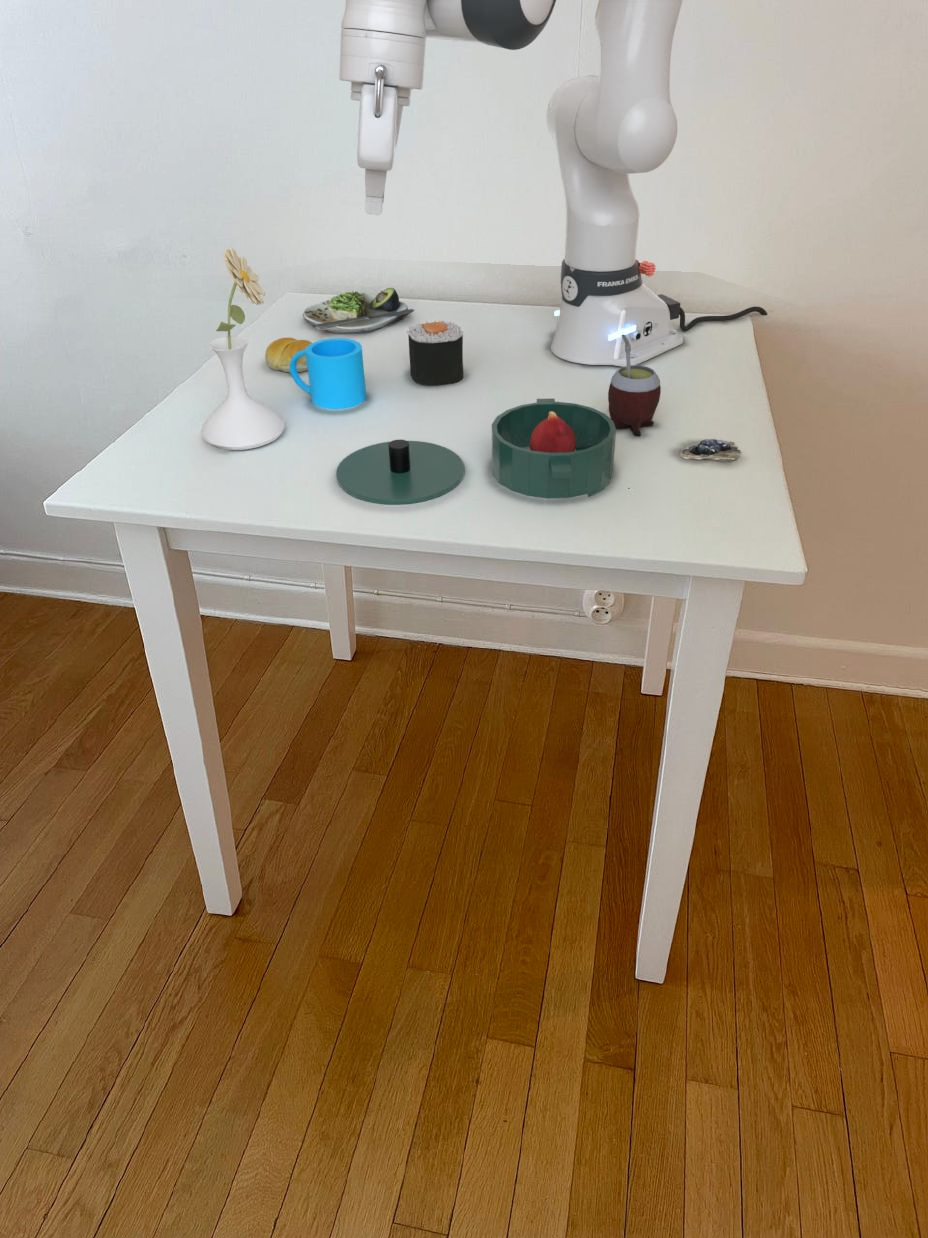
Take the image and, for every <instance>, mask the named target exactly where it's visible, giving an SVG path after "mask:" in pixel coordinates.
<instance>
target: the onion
mask: <svg viewBox="0 0 928 1238" xmlns="http://www.w3.org/2000/svg"><path fill="white" fill-rule="evenodd" d="M548 414H549V416H548V418H547V419H545V420H543V421H541V422H540V423H539V424H538V425H537V427H536V428H535V429H534V430H533V432H532V434H531V438H530V446H529V450H532V451H540V452H548V453H558V452H573V451H576V449H575V448H576V438H575V434H574V431H573V430H572V428H571V427H570V426H569V425H568V424H567V423H566V422H565V421H564V420H562V419H561V418H559V417H558V416H557V415H556V414H555V412H553V411H551V412H549V413H548Z"/></svg>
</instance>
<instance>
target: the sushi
mask: <svg viewBox="0 0 928 1238" xmlns="http://www.w3.org/2000/svg"><path fill="white" fill-rule="evenodd" d="M406 333H407V337H408V353H409V354H408V356H409V370H410V371H409V372H410V373H409V374H410V377H411V379H412V380H413V381H414V382H415V383H416V384H418V385H421V386H430V387H431V386H432V387H433V386H435V387H436V386H445V385H452V384H456V383H459V382H461V381H462V380H463V379H464V358H463V357H464V355H463V354H464V353H463V352H464V347H463V346H464V331H462V327H461V326H459V325H457V324H455V323H454V322H451V321H443V320H439V321H436V320H434V321H433V322H432V321H431V322H428V321H425V323H423V322H422V323H421V322H419V323H418V324H416V325H414V326H409V327H408V329H407V330H406Z"/></svg>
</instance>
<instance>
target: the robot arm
mask: <svg viewBox="0 0 928 1238" xmlns="http://www.w3.org/2000/svg"><path fill="white" fill-rule="evenodd" d="M556 1H557V0H345V6H344V7H345V8H344V13H343V16H342V19H341V23H340V24H341V25H340V50H339V75H338V76H339V77H338V78H339V81H344V82H350V100H351V101H357V102H358V101H359V111H358V131H357V133H358V134H357V150H356V151H357V153H356V155H357V157H356V158H357V159H356V160H357V165H358V167H359V168H360V169H365V170H364V187H365V188H364V189H365V191H364V192H365V201H364V202H365V205H364V209H365V213H366V214H368V215H374V216H380V215H381V214H382V212H383V204H384V202H385V190H386V189H385V188H386V182H387V174H388V172H390V171H392V170H393V167H394V162H395V155H396V151H397V145H398V140H399V135H400V129H401V124H402V123H401V122H402V117H403V111H404V110H403V109H404V107H410V106H411V93H412V90H420V91H421V90H423V89H424V78H425V77H424V76H425V63H426V50H427V39H432V40H439V41H440V40H442V41H451V42H458V43H468V44H469V43H471V44H484V45H486V46H490V47H496V48H500V49H505V50H510V51H517V50H521V49H524V48H526V47H528V46H529V45H531V44H532V43H533V42H534V41H535V40H536V39H537V38H538V37H539V35H540V34H541V33H542V32H543V30H544V29H545V27H546V26H547V24H548V22H549V20H550V18H551V15H552V13H553V11H554V8H555V5H556ZM682 3H683V0H598V3H597V7H596V10H595V15H594V28H595V29H594V30H595V31H596V34H597V38H598V43H599V71H598V75H591V74H590V75H584V76H578V77H575V78H570V79H569V80H566V81H565V82H563V83H562V84H560V85H559V86H558V87H557V88H556V89H555V90H554V91H553V93H552V95H551V97H550V99H549V101H548V103H547V108H546V118H545V119H546V127H547V129H548V133H549V135H550V136H551V138H552V140H553V143H554V146H555V150H556V155H557V159H558V160H557V161H558V166H559V170H560V176H561V183H562V189H563V194H564V205H565V231H564V232H565V233H564V234H565V237H564V258H563V260H562V261H561V267H560V268H561V269H560V291H561V300H560V305H559V310H555V311H554V317H557V316H558V317H557V323H556V327H555V332H554V335H553V339H552V342H551V345H550V351H551V352H552V353H553V355H555V356H556V357H558V358H560V359H562V360H564V361H566V362H567V361H568V362H570V363H571V362H572V363H575V364H581V365H590V366H615V367H625V366H627V364H626V352H625V342H624V340H623V338H622V336H621V335H622V334H624V335H625V336H626V337H627V338H628V340H629V344H630V345H631V351H630V364H631V365H640V364H641V363H643V362H644V363H645V362H646V361H647V360H648V361H649V360H650V359H652V358H655V357H657V356H658V355H662V354H663V353H665V352H668V351H670V350H672V349H675V348H676V347H678V346H681V345H683V344H684V337H683V335H682V334H681V333H680V332H679V331H677V330H676V329H674V328H673V327H671V321H672V320H677V319H679V329H680V330H681V331H682V332H688V331H689V330H691V329H692V328H693V327H694V326H695V325H697V324H700V323H704V322H726V321H727V322H728V321H733V320H737V319H739V318H743V317H744V316H747V315H749V314H751V313H754V312H757V313H759V314H760V315H761V316H767V315H768V312H767V311H766V310H765V309H764V308H763V307H761V306H751V307H748V308H745V309H742V310H741V311H738V312H736V313H733V314H728V315H704V316H699V317H695V318H694V319H692V320H691V321H689V323H688V324H686V313H685V311H684V309H683V308H682V307H681V302H680V301H677V300H675V299H673V298H671V297H669V296H667V295H665V294H663V293H661V294H656V293H655V292H654V291H653V290H651V289H650V288H649V287H648V286H647V285H645V284H644V283H643V277H642V275H645V276H647V277H653V275H655V273H656V270H657V268H656V267H657V265H656V264H655V263H654V262H649V261H648V260H643V261H642V262H640V261H639V260H638V259H637V247H638V235H639V226H640V225H639V224H640V223H639V222H640V207H639V204H638V201H637V199H636V197H635V195H634V192H633V190H632V185H631V182H630V177H629V175H630V174H633V175H634V174H645V173H649V172H652V171H654V170H656V169H658V168H659V167H660V166H662V164H664V162H666V161H667V159H668V158H669V157H670V155H671V153H672V151H673V149H674V147H675V144H676V141H677V136H678V119H677V116H676V113H675V110H674V107H673V105H672V101H671V93H670V92H671V91H670V90H671V87H670V82H671V81H670V78H671V77H670V75H671V74H670V73H671V56H672V47H673V40H674V36H675V31H676V27H677V22H678V19H679V16H680V11H681V8H682Z"/></svg>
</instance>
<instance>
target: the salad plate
mask: <svg viewBox="0 0 928 1238" xmlns="http://www.w3.org/2000/svg"><path fill="white" fill-rule="evenodd" d="M413 312H415V309H414V308H413V309H412V308H409V309H408V305H407V304H406V303H405V302H403V301H400V298H399V294H398V292H397V290H396V289H395V288H394V287H387V288H385V289H384V290H381V291H380V292H378V293H377V294H373V293H368V292H359V291H351V292H343V293H340V294H338V295H334V296H333V297H331V298H329V299H327V300H324V301H322V302H320V303H317V304H314V305H310V306H308V307H306V308H304V309H303V312H302V318H303V319H304V320H305V321H306V322H308V324H310V325H312V326H311V327H314V328H315V330H319V331H325V332H329V333H331V334H356V333H357V334H358V333H369V332H373V331H376V330H379V329H381V328H383V327H387V326H390V325H394V324H395V323H398V322H399V321H401V320H403V318H404V317H407V316H408V315H411V314H412V313H413Z"/></svg>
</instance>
